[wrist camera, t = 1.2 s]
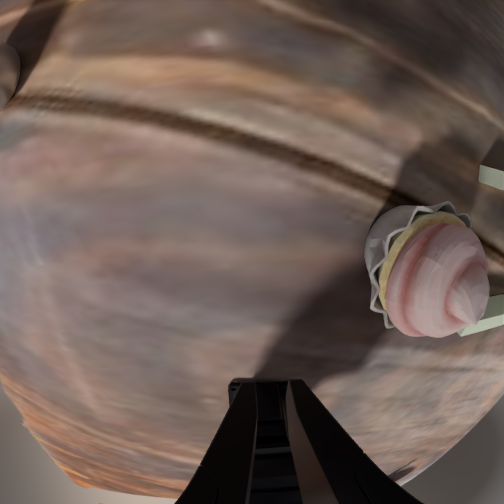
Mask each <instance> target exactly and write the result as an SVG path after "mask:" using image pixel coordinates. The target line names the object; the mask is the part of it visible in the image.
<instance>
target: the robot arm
mask: <svg viewBox="0 0 504 504" xmlns="http://www.w3.org/2000/svg"><path fill="white" fill-rule="evenodd" d="M228 393H229V405H230V407H229V409H228V411H227V413H226V415H225V417H224V419H223V421H222V423H221V425H220V427H219V429H218V431H217V433H216V435H215V437H214V439H213V440H212V442H211V444H210V446H209V448H208V450H207V452H206V454H205V456H204V458H203V460H202V461H201V463H200V465H201V466H199V467H198V469H197V470H196V472H195V474H194V476H193V477H192V479H191V481H190V482H189V484H188V486H187V487H186V489H185V490H184V492H183V493H182V494H181V496H180V497H179V498H178V500H177V501H176V502H175V504H424V503H422V502H420V501H419V500H418V499H416V498H415V497H414V496H412V495H411V494H409V493H408V492H407V491H406V490H404V489H403V488H402V487H401V486H399V485H398V484H397V483H396V482H394V481H393V480H392V479H391V478H390V477H388V476H387V475H386V474H385V473H384V472H383V471H382V470H381V469H380V468H379V467H378V466H377V465H376V464H375V463H374V462H373V461H372V460H371V459H370V458H369V457H368V456H367V455H366V453H363V450H362V449H361V448H360V447H359V446H358V445H357V443H356V442H355V441H354V440H353V439H352V438H351V437H350V436H349V434H348V433H347V432H346V431H345V430H344V429H343V427H342V426H341V425H340V424H339V423H338V422H337V420H336V419H335V418H334V417H333V416H332V415H331V413H330V412H329V411H328V410H327V409H326V408H325V406H324V405H323V404H322V403H321V402H320V400H319V399H318V398H317V397H316V396H315V394H314V393H313V392H312V391H311V390H310V388H309V387H308V386H307V385H306V384H305V382H304V381H303V380H302V379H291V380H289V381H288V382H272V383H255V382H254V381H243V382H242V383H231V384H229V386H228Z"/></svg>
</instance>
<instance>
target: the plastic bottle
mask: <svg viewBox="0 0 504 504" xmlns="http://www.w3.org/2000/svg"><path fill="white" fill-rule="evenodd" d="M20 70H21V63H20V58H19V55H18V53H17V51H16V49H15V48H14V47H12V46H10V45H8V44H6V43H4V42H0V110H1V109H2V108H3V107H4V106H5V105H6V104H7V103H8V102H9V100H10V99H11V97H12V95H13V94H14V91H15V89H16V86H17V84H18V80H19V76H20Z"/></svg>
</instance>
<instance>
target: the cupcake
mask: <svg viewBox="0 0 504 504" xmlns="http://www.w3.org/2000/svg"><path fill="white" fill-rule="evenodd" d="M364 258H365V263H366V267H367V270H368V273H369V276H370V280H371V285H372V292H371V303H370V309H372V310H373V311H375V312H379V313H383V316H384V323H385V327H386V328H394V327H397V328H398V329H399V330H400V331H401V332H402V333H404V334H406V335H409V336H415V337H420V336H431V337H436V338H442V337H445V336H448V335H450V334H453V333H455V332H457V331H459V330H461V329H463V328H465V327H467V326H469V325H470V324H473V325H476V324H477V323H478V321H479V320H480V318H481V317H482V316H483V315H484V312H485V309H486V306H487V302H488V299H489V289H490V285H489V281H488V277H487V273H488V263H487V259H486V256H485V252H484V250H483V247H482V244H481V242H480V240H479V238H478V237H477V235H476V234H475V233H474V232H473V231H472V220H471V218H470V215H468V214H467V213H457V211H456V209H455V207H454V205H453V204H452V203H451V202H450V201H449V200H448V201H445V202H442V203H439V204H436V205H433V206H411V205H401V206H398V207H395V208H393V209H390V210H389V211H387V212H386V213H384V214H383V215H381V216H380V217H379V218H378V220H377V221H376V222H375V223H374V225H373V226H372V228H371V230H370V231H369V233H368V236H367V240H366V244H365V251H364Z"/></svg>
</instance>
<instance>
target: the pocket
mask: <svg viewBox="0 0 504 504" xmlns="http://www.w3.org/2000/svg"><path fill="white" fill-rule="evenodd" d="M478 182H481V183H484V184H487V185H489V186H492V187H495V188H497V189H500V190H503V191H504V172H503V171H500V170H497V169H493V168H490V167H486V166H483V165H480V168H479V177H478ZM503 324H504V294H502V295H497V296H491V297H489V299H488V302H487V306H486V309H485V312H484V315H483V316H482V317H481V318H480V320H479V321H478V323H477V324H476V325H473V324H470V325H469V326H467V327H465V328H463V329H461V330H459V331H457V333H458V334H459V335H460V336H465V335H469V334H472V333H476V332H480V331H483V330H487V329H490V328H493V327H497V326H500V325H503Z"/></svg>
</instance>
